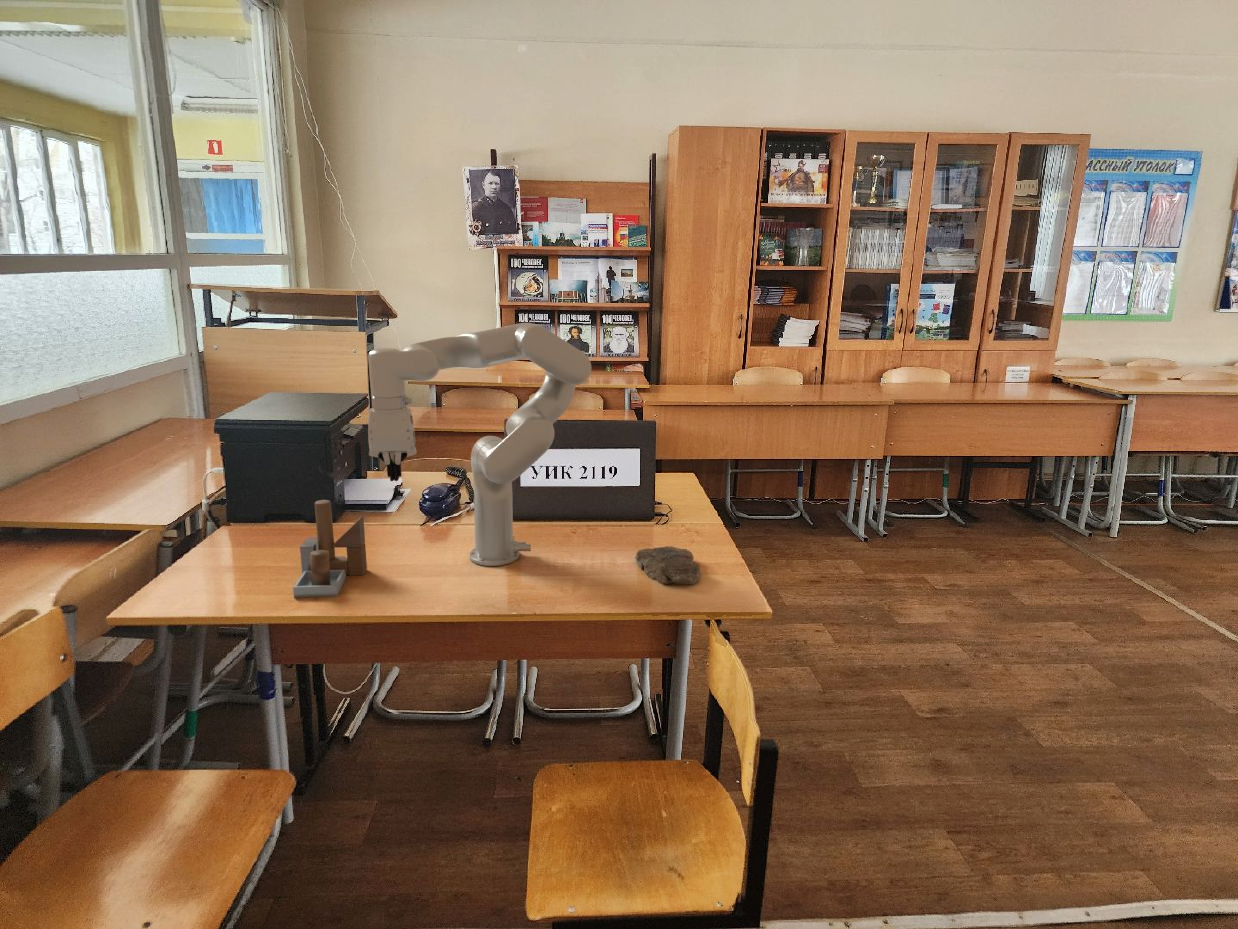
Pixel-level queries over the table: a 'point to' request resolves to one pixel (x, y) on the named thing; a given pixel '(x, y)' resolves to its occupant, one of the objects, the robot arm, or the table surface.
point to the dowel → (320, 567)
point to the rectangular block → (307, 552)
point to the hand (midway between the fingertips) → (394, 479)
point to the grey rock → (669, 565)
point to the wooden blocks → (341, 541)
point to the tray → (307, 590)
